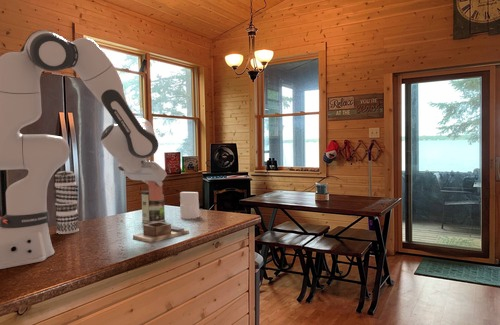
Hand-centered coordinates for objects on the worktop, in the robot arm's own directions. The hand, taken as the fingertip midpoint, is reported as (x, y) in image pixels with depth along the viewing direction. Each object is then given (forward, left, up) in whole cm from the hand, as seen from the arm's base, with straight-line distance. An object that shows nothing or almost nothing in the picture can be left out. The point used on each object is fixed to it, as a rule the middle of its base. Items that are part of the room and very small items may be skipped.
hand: (156, 185), depth 149 cm
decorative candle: (-21, +33, -19) cm, 43 cm away
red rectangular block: (-1, 0, -6) cm, 6 cm away
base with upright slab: (+29, +14, -19) cm, 37 cm away
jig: (-3, -6, -19) cm, 20 cm away
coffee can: (+13, +21, -19) cm, 31 cm away
